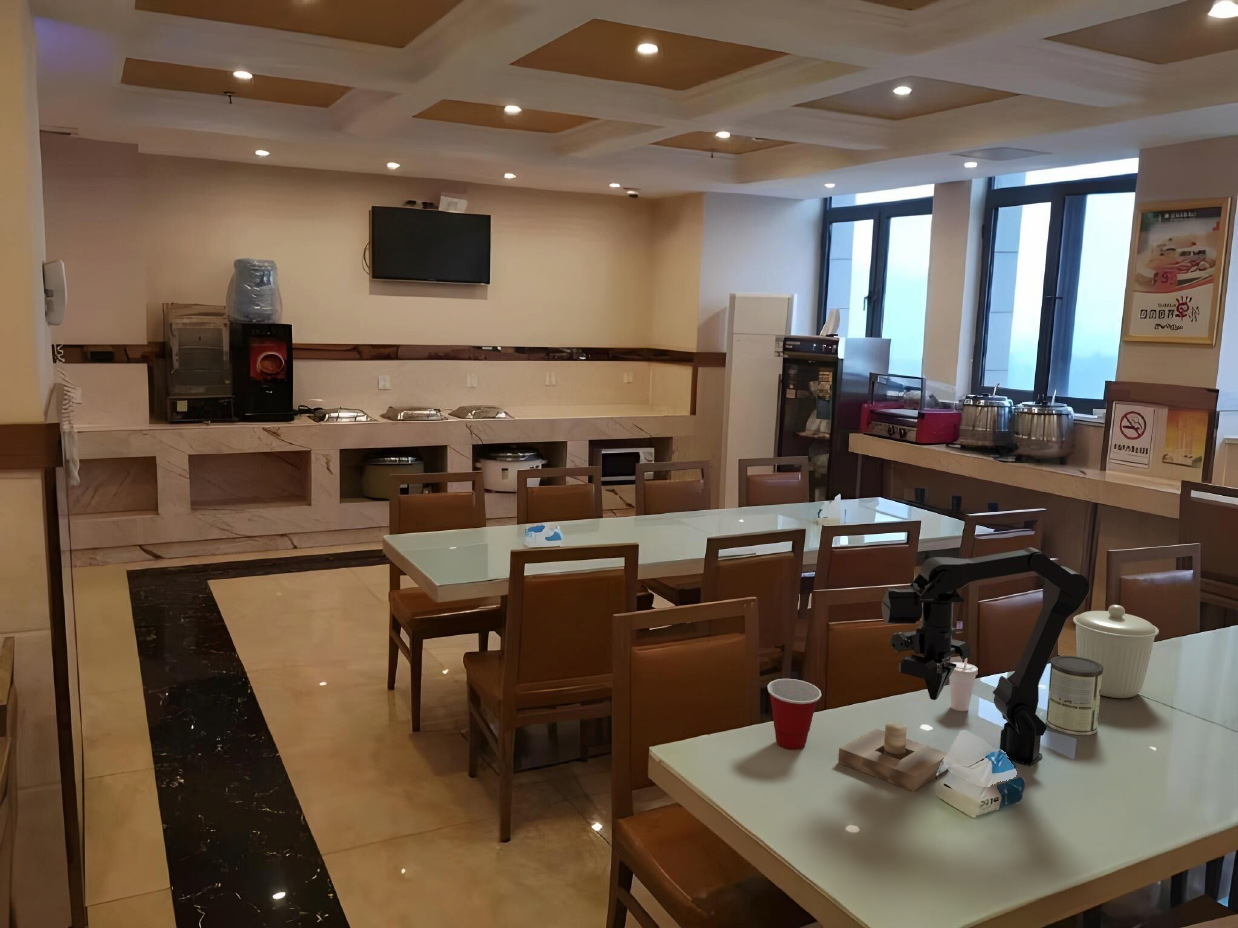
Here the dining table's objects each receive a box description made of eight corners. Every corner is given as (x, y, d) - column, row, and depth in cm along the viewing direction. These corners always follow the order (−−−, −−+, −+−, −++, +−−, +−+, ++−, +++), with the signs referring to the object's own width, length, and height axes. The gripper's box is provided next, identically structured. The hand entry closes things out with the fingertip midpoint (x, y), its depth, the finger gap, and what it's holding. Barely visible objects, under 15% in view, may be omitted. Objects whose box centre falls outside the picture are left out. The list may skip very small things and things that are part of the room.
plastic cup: (787, 760, 188) (790, 701, 186) (753, 739, 197) (756, 683, 195) (830, 749, 193) (833, 692, 191) (795, 729, 202) (797, 675, 201)
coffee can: (1038, 715, 214) (1043, 654, 212) (1086, 717, 213) (1092, 656, 211) (1054, 733, 204) (1060, 670, 202) (1105, 737, 203) (1111, 672, 201)
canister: (1073, 699, 224) (1081, 611, 221) (1062, 673, 241) (1069, 591, 238) (1160, 709, 219) (1169, 619, 216) (1142, 682, 236) (1150, 599, 233)
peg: (908, 765, 187) (911, 726, 186) (897, 772, 184) (900, 732, 183) (889, 758, 190) (891, 719, 188) (878, 764, 187) (880, 725, 186)
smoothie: (978, 714, 213) (983, 653, 212) (949, 713, 214) (954, 652, 212) (969, 702, 220) (973, 643, 218) (940, 702, 220) (945, 643, 218)
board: (949, 768, 186) (950, 753, 185) (913, 791, 176) (914, 775, 176) (875, 742, 197) (876, 728, 197) (838, 762, 187) (839, 747, 187)
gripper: (920, 605, 201) (917, 677, 203) (875, 625, 187) (873, 701, 189) (972, 616, 193) (969, 690, 195) (929, 637, 180) (926, 716, 182)
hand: (933, 699), depth 190 cm, fingers closed
